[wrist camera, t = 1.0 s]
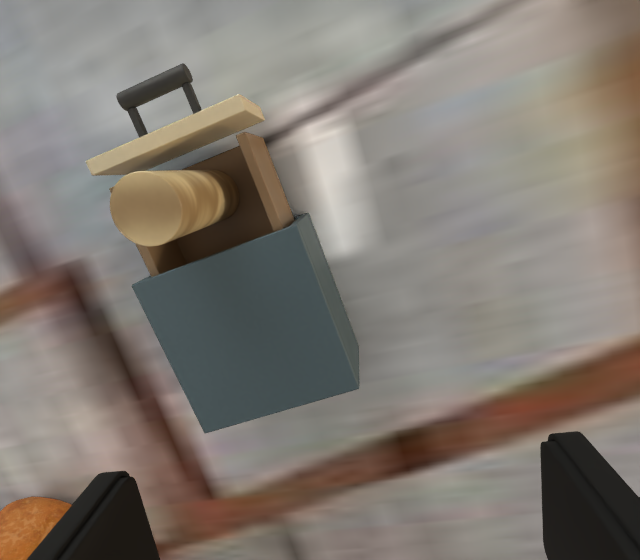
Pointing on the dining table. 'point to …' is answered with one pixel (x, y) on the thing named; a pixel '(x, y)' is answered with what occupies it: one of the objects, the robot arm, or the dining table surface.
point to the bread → (27, 525)
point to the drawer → (202, 168)
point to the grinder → (171, 203)
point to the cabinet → (254, 327)
